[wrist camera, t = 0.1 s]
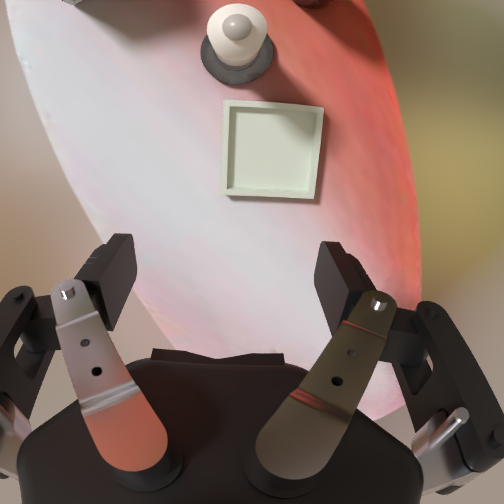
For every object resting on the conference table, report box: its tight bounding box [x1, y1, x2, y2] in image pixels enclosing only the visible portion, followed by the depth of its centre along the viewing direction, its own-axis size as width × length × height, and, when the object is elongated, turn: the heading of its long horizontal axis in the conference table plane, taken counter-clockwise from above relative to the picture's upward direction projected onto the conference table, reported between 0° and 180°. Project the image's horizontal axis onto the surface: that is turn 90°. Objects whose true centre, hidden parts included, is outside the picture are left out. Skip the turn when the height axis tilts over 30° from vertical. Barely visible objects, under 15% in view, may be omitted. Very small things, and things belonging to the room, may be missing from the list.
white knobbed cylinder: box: [207, 4, 267, 67], centre depth 23 cm, size 5×5×11 cm
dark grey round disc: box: [201, 34, 273, 84], centre depth 30 cm, size 9×9×4 cm
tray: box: [221, 100, 324, 199], centre depth 37 cm, size 13×13×2 cm
